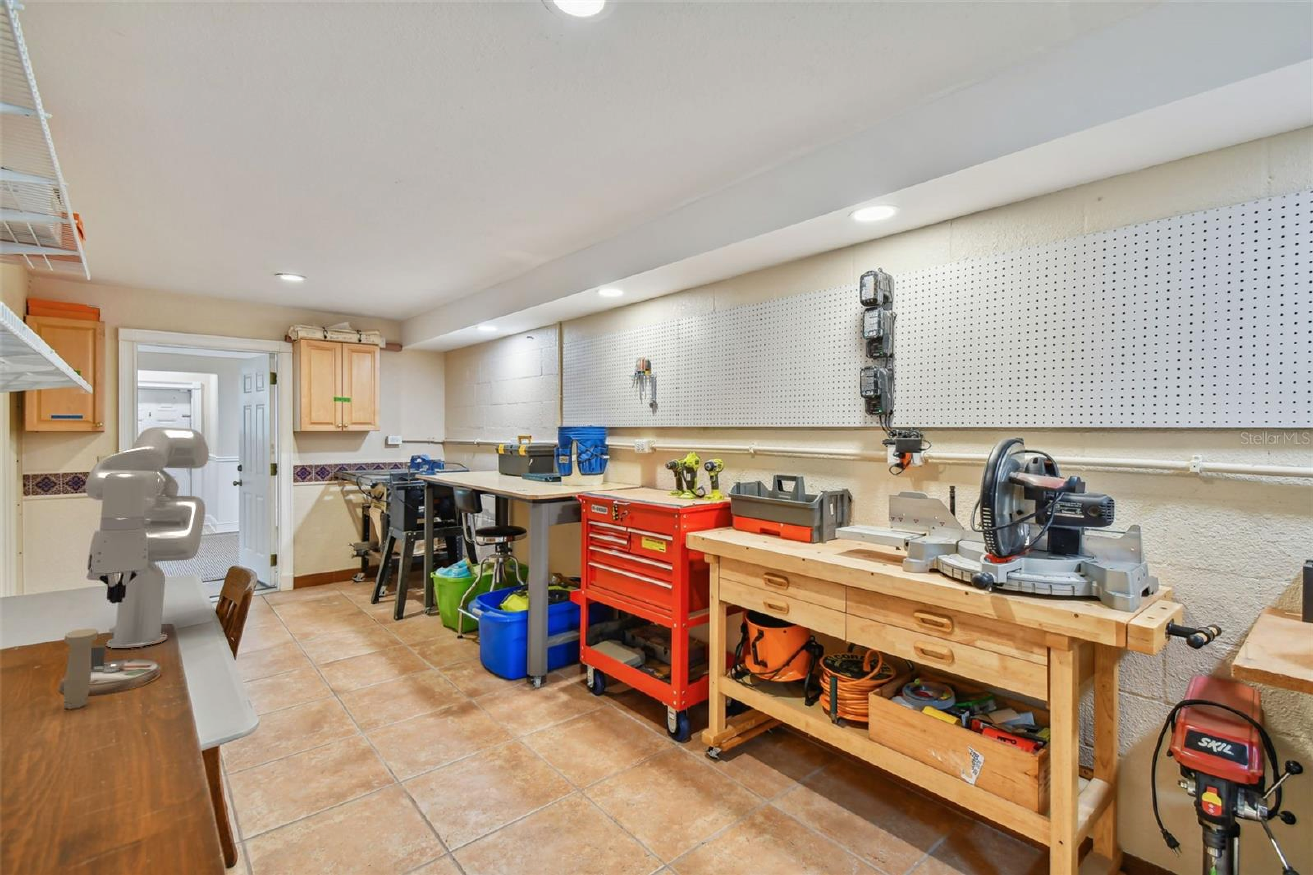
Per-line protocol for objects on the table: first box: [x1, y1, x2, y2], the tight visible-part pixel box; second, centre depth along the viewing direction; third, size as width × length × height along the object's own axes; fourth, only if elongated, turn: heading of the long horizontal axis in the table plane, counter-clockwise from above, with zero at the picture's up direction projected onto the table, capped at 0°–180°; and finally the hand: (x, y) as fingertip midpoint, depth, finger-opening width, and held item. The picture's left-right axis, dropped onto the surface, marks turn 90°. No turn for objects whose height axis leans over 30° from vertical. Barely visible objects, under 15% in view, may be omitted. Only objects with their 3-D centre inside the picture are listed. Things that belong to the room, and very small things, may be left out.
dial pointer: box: [91, 645, 151, 673], centre depth 135 cm, size 14×4×5 cm, turn 103°
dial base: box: [59, 658, 163, 697], centre depth 135 cm, size 17×17×3 cm
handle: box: [63, 628, 99, 710], centre depth 121 cm, size 5×6×15 cm
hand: (115, 601), depth 139 cm, fingers closed
